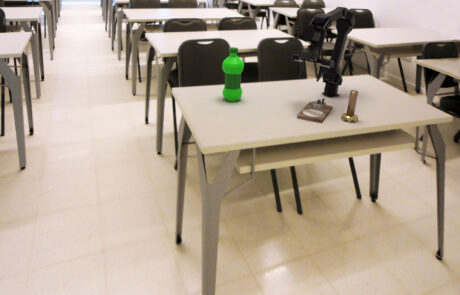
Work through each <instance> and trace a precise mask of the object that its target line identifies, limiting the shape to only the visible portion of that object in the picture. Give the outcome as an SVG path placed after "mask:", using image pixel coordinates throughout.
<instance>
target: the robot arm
mask: <svg viewBox="0 0 460 295" xmlns="http://www.w3.org/2000/svg"><path fill="white" fill-rule="evenodd" d="M334 22H335V24H336V25H335V29H336V38H335V42H334V46H333V50H332V54H331V58H330V59H328V58H327V59H326V58H322V51H324V43H325V39H326V36H327V37H328V32H327V30H329V29H330V28H331V27H332V26H333V23H334ZM355 24H356V18H355V14H354V13H352V12H351V11H350V10H349V9H348V7H345V6H338V7H337V6H336V8H334V9H332V10H330V11H328V12H326V13H316V14H315V15H314V17H313V18H312V20H310V23H309V24H308V25H307V27H306V28H303V31H302V33H301V38H302V39H303V41H306V42H308V43H309V44H308V45H307V48H305V49H303V50H301V53H296V52H294V53H293V54H292V55H291V60H293V62H294V63H295V65H296V69H297V76H298V77H297V78H301V76H302V73H303V70H304V67H305V61H306V62H310V63H313V64H314V63H316V64H319V68H318V69H319V70H318V74H317V77H316V82H319V81H320V80H321V78H322V84H323V83H324V84H325V85H324V87H323V88H324V89H323V92H321V94H322V95H324V96H327V97H328V98H334V97H338V96H339V97H340V94H339V93H338V91H339V87H340V86H342V84H343V76H342V69H341V68H342V67H341V65H340V64H341V60H342V57H343V53H344V50H345V45H346V41H347V38H348V35H349V34H350V33H351V32H352V31H353V29H354V26H355Z"/></svg>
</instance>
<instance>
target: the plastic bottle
mask: <svg viewBox="0 0 460 295" xmlns="http://www.w3.org/2000/svg"><path fill="white" fill-rule="evenodd" d="M228 53H229V56H227V57H226V58H225V59H224V60H223V62H222V65H221V69H222V71H223V73H224V87H223V89H222V95H223V97H224V98H225V99H226V100H227V101H228V102H237V101H238V100H239V99H241V97H242V95H243V88H242V87H241V83H242V72H244V69H245V68H244V67H245V63H244V61H243V60H242V59H241V58H240V56H238V53H239V48H238V47H233V46H232V47H229V48H228Z"/></svg>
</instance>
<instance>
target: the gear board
mask: <svg viewBox="0 0 460 295" xmlns="http://www.w3.org/2000/svg"><path fill="white" fill-rule="evenodd" d="M332 110H333V105H331V104H327V102H325V98H322V99H317V100H313V101H309V102H308V103H307V104H306V105H305V106H304V107H303V108H302V109H301V110H300V112H299V113H298V114H297V115H296V116H297V117H296V118H297V119H300V120H304V121H311V122H315V123H319V124H322V123H323V122H324V121H325V119H326V118H327V117H328V115H329V114H330V113H331V111H332Z"/></svg>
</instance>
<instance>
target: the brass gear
mask: <svg viewBox="0 0 460 295" xmlns="http://www.w3.org/2000/svg"><path fill="white" fill-rule="evenodd" d="M358 95H359V91H358V90H357V89H356V90H355V89H351V90H350V91H349V96H348V102H347V107H346V109H347V110H346V112H343V113H342V114H341V116H340V119H341V120H342V121H343V122H346V123H349V124H350V123H354V124H355V123H357V122H358V120H359V116H358V115H357V114H356V113H355V112H356V106H357V100H358Z"/></svg>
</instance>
